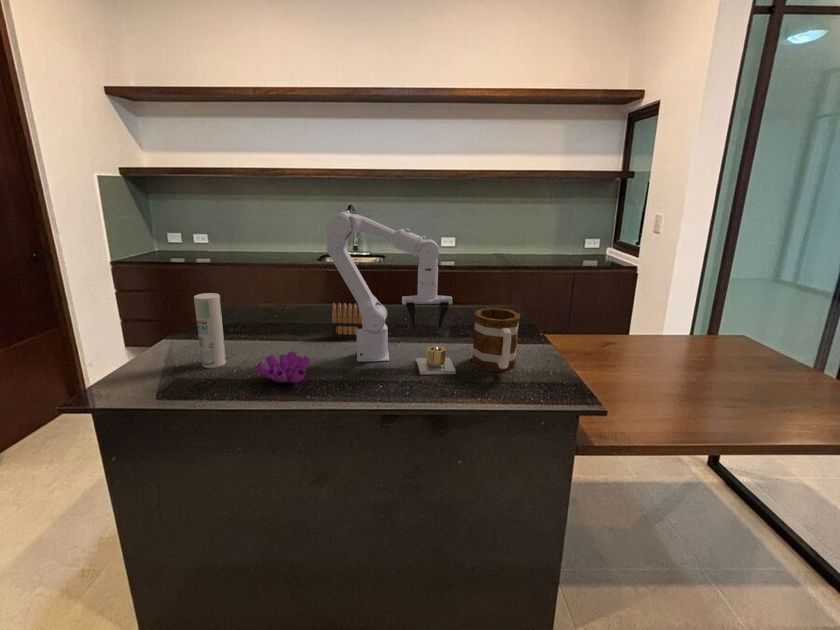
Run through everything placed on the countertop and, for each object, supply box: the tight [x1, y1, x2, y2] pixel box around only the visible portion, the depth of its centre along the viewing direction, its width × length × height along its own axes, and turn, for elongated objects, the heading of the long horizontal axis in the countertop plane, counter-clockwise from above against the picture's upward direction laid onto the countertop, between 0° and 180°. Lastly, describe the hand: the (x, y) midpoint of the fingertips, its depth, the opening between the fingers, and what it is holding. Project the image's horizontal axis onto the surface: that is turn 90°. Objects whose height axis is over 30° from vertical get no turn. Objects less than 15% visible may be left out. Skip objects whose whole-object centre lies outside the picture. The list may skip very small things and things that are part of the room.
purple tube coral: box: [254, 351, 312, 383], centre depth 124 cm, size 11×15×10 cm
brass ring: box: [425, 345, 447, 364], centre depth 134 cm, size 5×5×4 cm
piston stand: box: [415, 347, 457, 376], centre depth 134 cm, size 10×10×6 cm
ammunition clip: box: [331, 302, 364, 339], centre depth 157 cm, size 11×2×12 cm, turn 89°
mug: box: [471, 307, 521, 372], centre depth 135 cm, size 20×14×15 cm
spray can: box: [193, 292, 227, 369], centre depth 131 cm, size 6×6×20 cm
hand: (426, 327), depth 139 cm, fingers open, 7 cm apart
